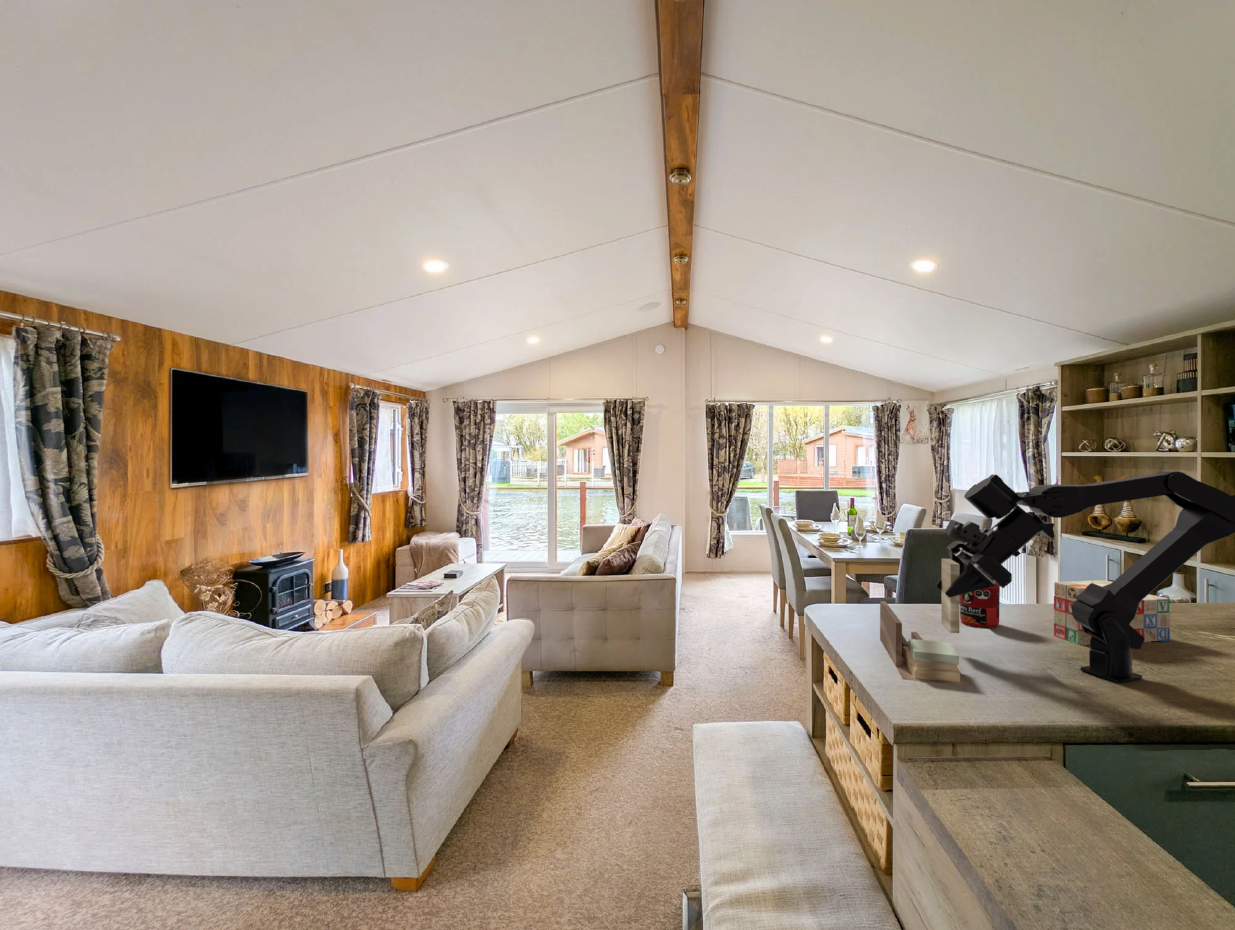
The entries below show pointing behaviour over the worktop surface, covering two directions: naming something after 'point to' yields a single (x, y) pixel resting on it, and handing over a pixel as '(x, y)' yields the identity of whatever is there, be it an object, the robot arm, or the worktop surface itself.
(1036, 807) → the worktop surface
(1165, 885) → the worktop surface
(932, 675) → the offcut stack
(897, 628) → the offcut rack
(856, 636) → the worktop surface
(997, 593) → the canned food
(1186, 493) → the robot arm
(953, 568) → the birch board
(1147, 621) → the stack of blocks
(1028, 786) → the worktop surface
